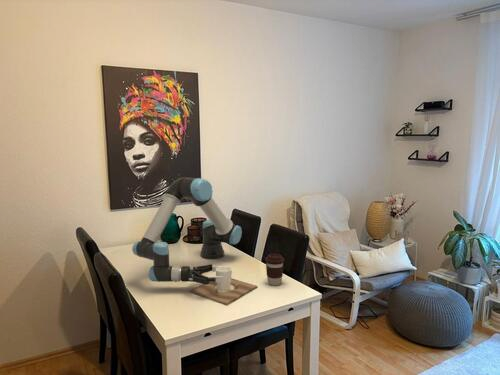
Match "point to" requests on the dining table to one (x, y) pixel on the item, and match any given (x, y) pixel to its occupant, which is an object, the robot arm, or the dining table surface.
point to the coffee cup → (274, 269)
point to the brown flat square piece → (226, 296)
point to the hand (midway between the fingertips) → (224, 273)
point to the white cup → (224, 277)
